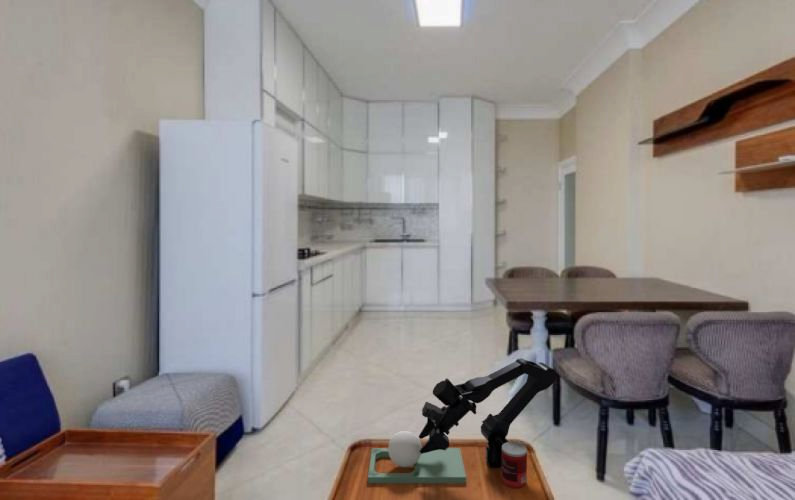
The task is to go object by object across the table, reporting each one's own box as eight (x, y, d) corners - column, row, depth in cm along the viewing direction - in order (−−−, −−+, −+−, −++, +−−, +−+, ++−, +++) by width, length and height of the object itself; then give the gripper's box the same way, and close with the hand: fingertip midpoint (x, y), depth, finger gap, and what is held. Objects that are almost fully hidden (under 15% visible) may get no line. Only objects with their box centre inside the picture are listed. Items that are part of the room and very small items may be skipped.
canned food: (524, 474, 146) (524, 441, 145) (528, 490, 138) (529, 455, 137) (499, 473, 147) (500, 440, 146) (503, 488, 139) (503, 454, 138)
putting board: (459, 453, 158) (459, 448, 158) (466, 483, 142) (466, 477, 141) (371, 453, 159) (371, 448, 159) (367, 483, 142) (367, 477, 142)
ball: (419, 423, 155) (386, 426, 155) (420, 439, 144) (386, 443, 144) (422, 453, 156) (390, 457, 156) (424, 472, 145) (389, 476, 145)
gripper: (434, 384, 157) (402, 415, 158) (438, 408, 138) (402, 442, 140) (457, 406, 158) (425, 437, 159) (464, 433, 139) (428, 467, 140)
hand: (419, 445), depth 149 cm, fingers open, 9 cm apart
